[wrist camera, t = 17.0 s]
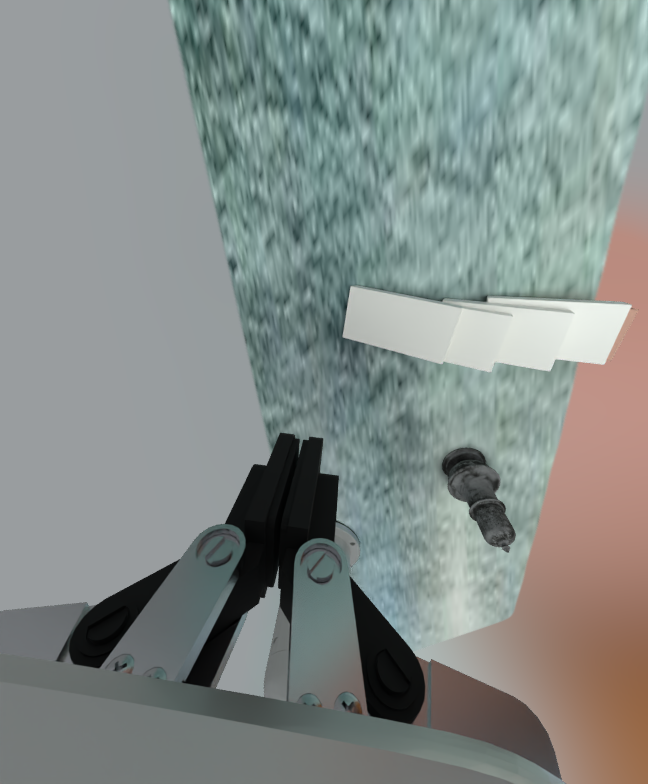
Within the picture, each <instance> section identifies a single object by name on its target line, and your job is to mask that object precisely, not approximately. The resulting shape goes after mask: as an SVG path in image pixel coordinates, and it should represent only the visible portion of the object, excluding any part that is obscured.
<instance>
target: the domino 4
mask: <svg viewBox="0 0 648 784" xmlns="http://www.w3.org/2000/svg"><path fill="white" fill-rule="evenodd" d="M486 302H491V303H501V304H512V305H522V306H532V307H543V308H553V309H564V310H571V311H572V312H574V313H575V315H574V317H573V320H572V322H571V324H570V327H569V329H568V331H567V334H566V336H565V338H564V340H563V343H562V345H561V347H560V350H559V352H558V354H557V357H556V359H560V360H568V361H577V362H586V363H595V364H605V362H606V360H607V358H608V355H609V353H610V351H611V349H612V347H613V345H614V343H615V340H616V338H617V336H618V334H619V332H620V330H621V327H622V325H623V323H624V321H625V319H626V317H627V315H628V312H629V310H630V308H631V306H632V305H631V304H628V303H625V302H615V301H594V300H573V299H551V298H530V297H509V296H487V300H486Z"/></svg>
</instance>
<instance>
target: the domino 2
mask: <svg viewBox="0 0 648 784" xmlns="http://www.w3.org/2000/svg"><path fill="white" fill-rule="evenodd" d="M512 319H513V315H512V314H510V313H504V312H497V311H491V310H485V309H479V308H473V307H467V306H463V308H462V311H461V314H460V316H459V319H458V322H457V325H456V328H455V331H454V334H453V337H452V339H451V342H450V345H449V348H448V351H447V354H446V357H445V359H444V362H448V363H453V364H457V365H461V366H465V367H469V368H474V369H478V370H482V371H486V372H490V373H491V371H492V368H493V366H494V363H495V361H496V358H497V356H498V353H499V351H500V348H501V346H502V343H503V341H504V338H505V336H506V333H507V331H508V329H509V326H510V324H511V321H512Z"/></svg>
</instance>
